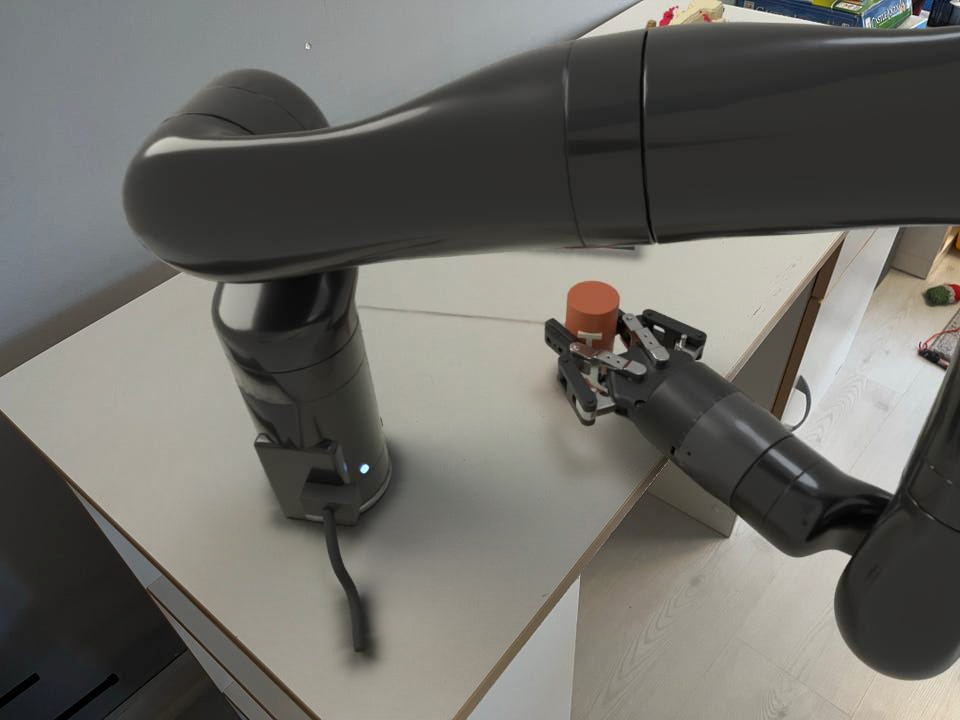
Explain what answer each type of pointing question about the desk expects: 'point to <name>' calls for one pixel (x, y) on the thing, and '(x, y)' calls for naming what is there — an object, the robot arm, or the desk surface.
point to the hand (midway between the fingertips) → (569, 315)
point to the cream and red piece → (693, 14)
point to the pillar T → (593, 315)
